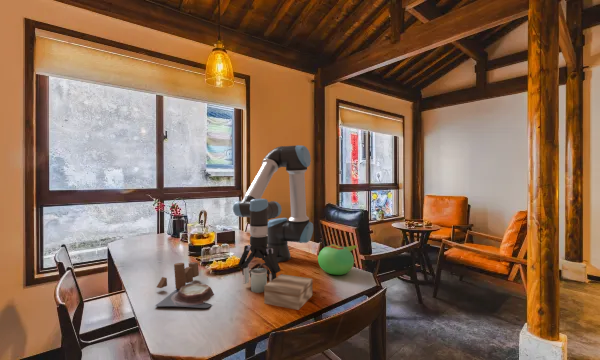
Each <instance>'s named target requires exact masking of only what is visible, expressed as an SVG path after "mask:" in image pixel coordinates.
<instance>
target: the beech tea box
mask: <svg viewBox="0 0 600 360" xmlns="http://www.w3.org/2000/svg"><path fill="white" fill-rule="evenodd" d="M313 283H314V281H313V278H309V277H303V276H296V275H288V274H283V273H281V274H279V275H277V276H276V278H275V279H273V280H272V281H270V280H269V281H268V282H267V284H266V285H264V292H263V294H264V298H263V299H264V300H263V301H264V304H266V305H271V306H277V307H281V308H286V309H289V310H290V309H291V310H297V311H299V310H300V309H301V308H302V307H303V306H304V305H305V304H306V303H307V302H308V301H309V300H310V298H312V296H313Z"/></svg>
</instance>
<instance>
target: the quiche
mask: <svg viewBox="0 0 600 360" xmlns="http://www.w3.org/2000/svg"><path fill="white" fill-rule="evenodd" d="M214 295H215V293H214V291H213V289H212V287H211V286H209V284H208V285H207V284H206V283H202V284H201V283H193V284H186V286H182V287H181V288H180V289H176V288H175V290H173V291H172V292H171V293H169V294H168V295H167V296H166V297H164V298H163V299H162V300H161V301H160V302H159V301H158V303H157V304H155V305H154V307H180V308H181V307H182V308H184V307H186V308H196V309H197V308H199V309H208V308H210V307H211V306H212V303H208V302H206V301H209V300H211V298H212V297H213V296H214Z"/></svg>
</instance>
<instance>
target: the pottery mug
mask: <svg viewBox="0 0 600 360" xmlns="http://www.w3.org/2000/svg"><path fill="white" fill-rule="evenodd" d="M256 268H263V269H266V270H267V279H268V281H270V273H271V272H270V270H269V268H268V267H267V265H266V263H265V262H263V263H262V262H258V263H257V264H254V265H253V266H252V267H251V268H250V269H249V279H251V270H252V269H256Z"/></svg>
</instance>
